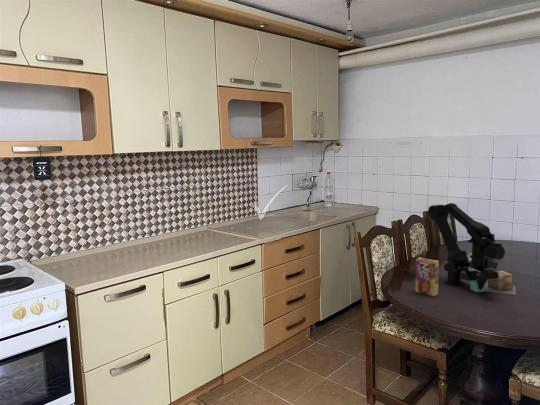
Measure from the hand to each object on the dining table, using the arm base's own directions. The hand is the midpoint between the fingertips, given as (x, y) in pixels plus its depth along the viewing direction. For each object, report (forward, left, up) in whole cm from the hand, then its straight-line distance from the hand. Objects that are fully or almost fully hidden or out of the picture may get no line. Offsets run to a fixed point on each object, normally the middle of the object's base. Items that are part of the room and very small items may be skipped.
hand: (477, 287), depth 181 cm
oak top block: (+11, -3, +2) cm, 12 cm away
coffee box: (+25, +19, +3) cm, 32 cm away
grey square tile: (+11, -3, -2) cm, 12 cm away
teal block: (0, 0, -1) cm, 1 cm away
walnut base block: (+11, -3, -1) cm, 12 cm away
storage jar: (+44, +28, -2) cm, 52 cm away
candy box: (-20, +11, -2) cm, 23 cm away
